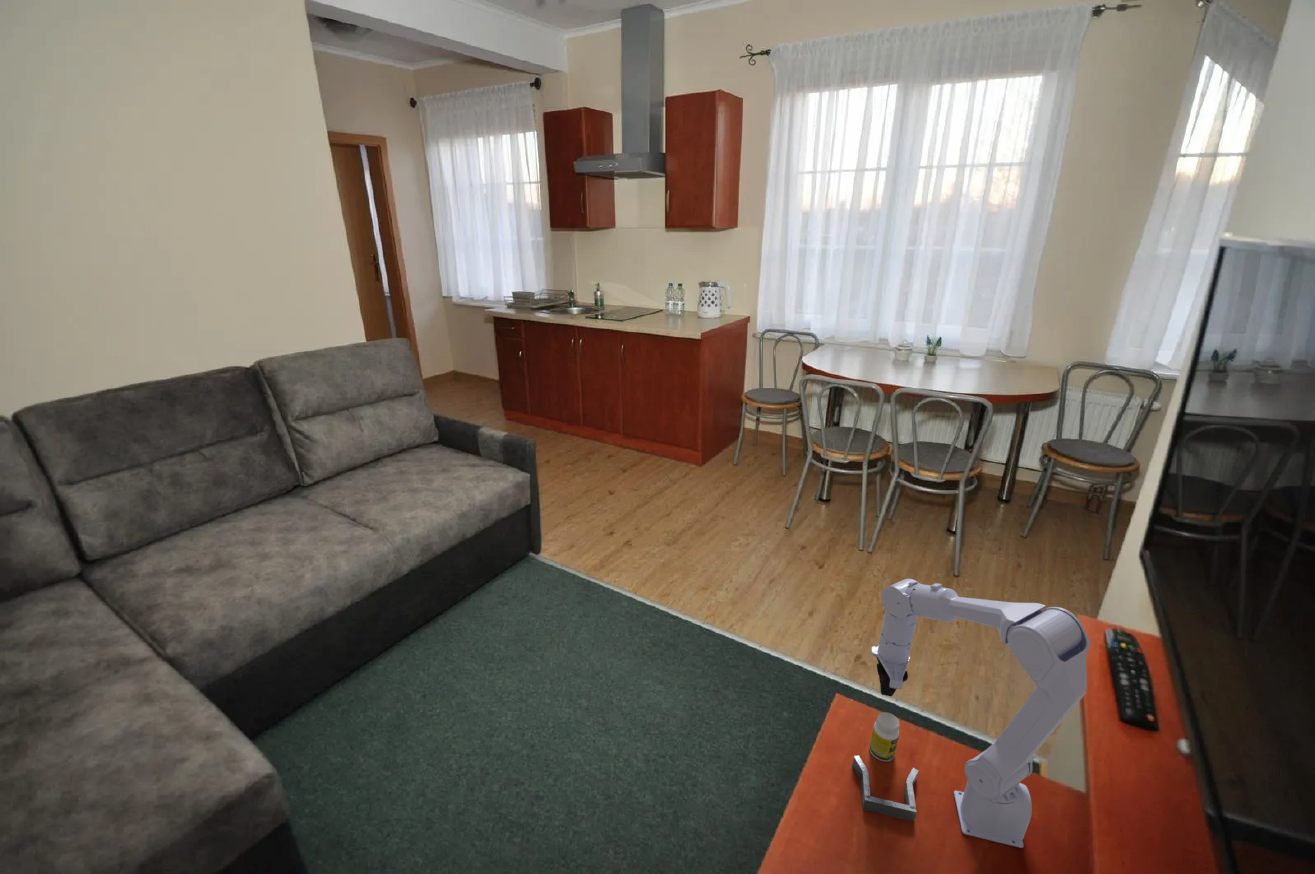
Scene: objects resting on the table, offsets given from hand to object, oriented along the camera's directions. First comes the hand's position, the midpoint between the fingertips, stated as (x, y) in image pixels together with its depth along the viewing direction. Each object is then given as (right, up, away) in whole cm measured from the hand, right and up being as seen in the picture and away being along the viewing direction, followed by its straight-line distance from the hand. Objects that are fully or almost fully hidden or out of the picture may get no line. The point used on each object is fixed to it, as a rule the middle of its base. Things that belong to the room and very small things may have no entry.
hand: (885, 688), depth 118 cm
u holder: (-4, -15, -11) cm, 19 cm away
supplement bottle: (-2, -12, -3) cm, 12 cm away
